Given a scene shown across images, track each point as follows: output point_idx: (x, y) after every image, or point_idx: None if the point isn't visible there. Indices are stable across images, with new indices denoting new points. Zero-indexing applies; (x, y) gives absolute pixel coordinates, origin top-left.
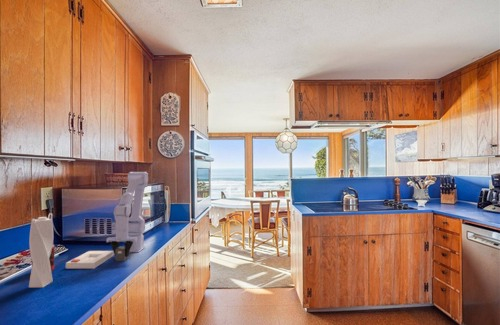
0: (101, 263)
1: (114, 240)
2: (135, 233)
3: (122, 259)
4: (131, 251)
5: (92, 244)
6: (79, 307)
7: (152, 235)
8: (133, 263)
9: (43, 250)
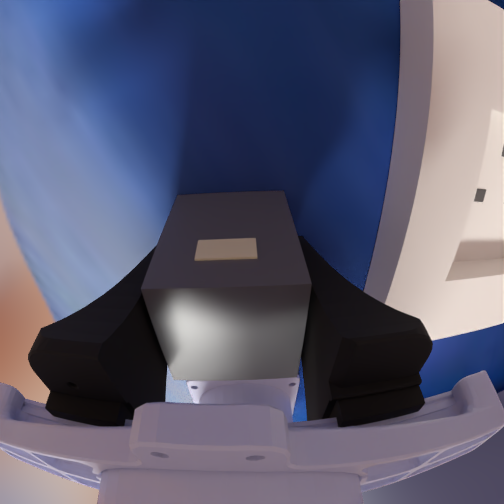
0: (397, 114)
1: (370, 429)
2: None
3: (195, 201)
4: (242, 380)
5: None
6: None
7: None
8: (47, 141)
9: None
